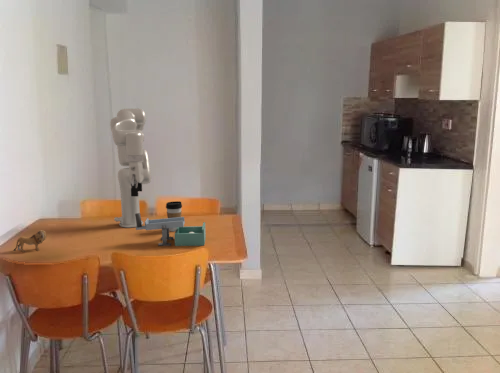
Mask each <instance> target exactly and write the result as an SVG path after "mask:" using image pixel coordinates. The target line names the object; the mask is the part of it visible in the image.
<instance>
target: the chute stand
mask: <svg viewBox="0 0 500 373" xmlns="http://www.w3.org/2000/svg"><path fill="white" fill-rule="evenodd" d="M168 240H169V241H172V240H173V241H174V240H175V236H170V231H169V228H166V226H162V229H161V237H160V241H162V242H158V243H157V246H158V247H171V246H172V242H168Z"/></svg>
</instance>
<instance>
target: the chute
mask: <svg viewBox="0 0 500 373" xmlns="http://www.w3.org/2000/svg"><path fill="white" fill-rule="evenodd" d="M135 217H136V224H137V227H135V230H136V231H138V230H139V231H140V230H145V231H152V230H154V231H155V230H162V226H166V228H177V227H184V226H185V223H186V222H185V216H181V217H176V218H168V217H166V218H165V217H164V218H157V219H156V218H154V219H149V217H147V218H146V220H145V221H144V225H143V224H142V223H141V220H142V217H141V212H140V213H137V214H135Z"/></svg>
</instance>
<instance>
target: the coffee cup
mask: <svg viewBox="0 0 500 373" xmlns="http://www.w3.org/2000/svg"><path fill="white" fill-rule="evenodd" d="M182 208H183V204H182V201H179V200H178V201H169V202H166V204H165V209H166V215H167V216H166V218H176V217H182V213H183V212H182ZM176 229H177V228H169V232H175V231H176Z"/></svg>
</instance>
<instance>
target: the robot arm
mask: <svg viewBox="0 0 500 373" xmlns="http://www.w3.org/2000/svg"><path fill="white" fill-rule="evenodd" d="M146 117H147V116H146V113H145V110H144V109H143V108H138V107H137V108H122V109H119V110H118V112H117V114H116V117H112V118H111V119H110V123H109V126H110V131H111V134H112V135H111V136H112V139H113V143H114V145H115V146H117V148H116V149H117V156H118V157H117V158H118V163H119V165H120V166H122V167H124V168H121V169H119V170H118V172H117V180H118V185H119V190H120V193H119V194H120V205H121V216H119V217H114V219H113V220H114V221H115V222H116V223H117V222H119V227H121V228H136V227H137V224H136V217H135V214H137V213H140V214H141V212H140V193H139V192H143V185H148V184H150V183H151V182H152V172H151V171H152V170H151V163H150V158H149V157H150V156H149V152H148V150H146V149H145V148H143V146H144V145H143V142H144V141H145V134H144V132H143V130H144V127H145V124H146V121H147V120H146V119H147V118H146ZM141 223H142V225H143V224H144V221H143V220H142V219H141Z"/></svg>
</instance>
